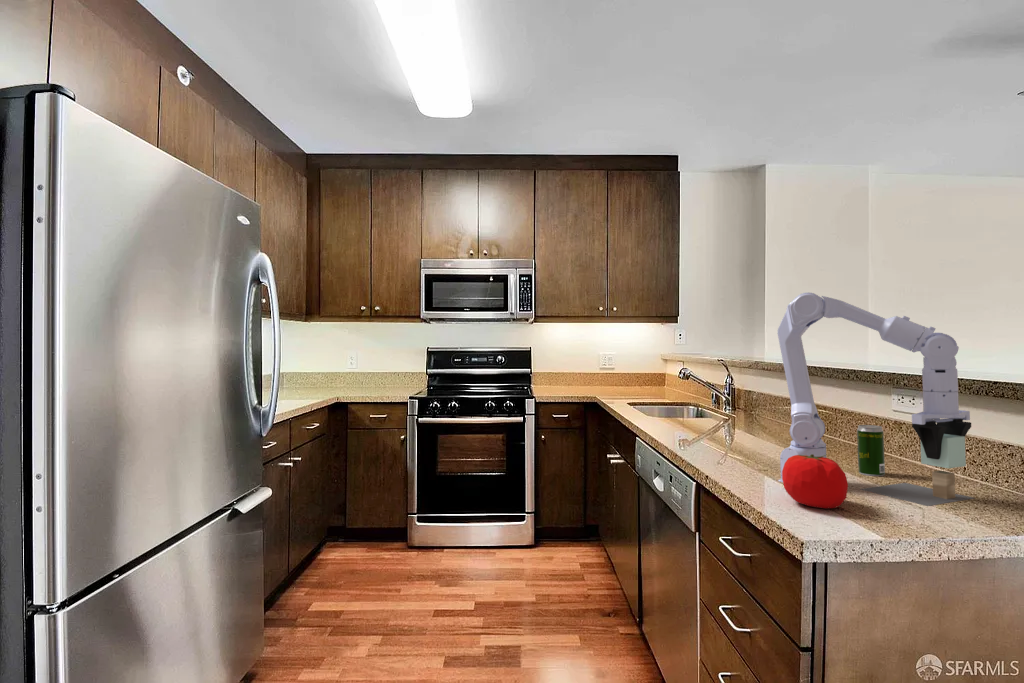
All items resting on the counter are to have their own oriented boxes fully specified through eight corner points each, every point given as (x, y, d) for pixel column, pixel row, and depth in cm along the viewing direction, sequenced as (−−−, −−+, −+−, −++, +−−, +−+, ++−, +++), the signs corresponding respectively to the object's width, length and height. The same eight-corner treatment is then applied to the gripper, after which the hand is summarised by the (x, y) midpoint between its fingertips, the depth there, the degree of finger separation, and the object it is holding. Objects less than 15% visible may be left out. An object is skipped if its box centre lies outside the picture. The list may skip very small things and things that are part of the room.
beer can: (888, 475, 131) (886, 426, 131) (880, 479, 127) (878, 428, 127) (863, 471, 135) (861, 424, 135) (855, 475, 131) (853, 426, 132)
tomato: (825, 517, 100) (824, 462, 100) (768, 501, 111) (767, 451, 112) (865, 509, 104) (863, 456, 104) (806, 494, 116) (804, 446, 116)
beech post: (946, 499, 108) (945, 474, 109) (933, 495, 111) (932, 471, 111) (955, 497, 109) (954, 473, 109) (941, 494, 112) (940, 470, 112)
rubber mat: (927, 508, 104) (927, 506, 104) (860, 490, 117) (860, 489, 117) (975, 500, 109) (975, 498, 109) (904, 484, 122) (904, 482, 122)
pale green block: (948, 468, 107) (947, 438, 107) (921, 463, 112) (920, 434, 112) (965, 466, 109) (964, 436, 109) (938, 461, 113) (937, 432, 114)
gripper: (937, 394, 104) (939, 464, 104) (985, 390, 109) (988, 457, 109) (900, 391, 111) (902, 457, 111) (947, 388, 116) (950, 451, 115)
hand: (942, 457), depth 110 cm, fingers closed on pale green block, 5 cm apart
